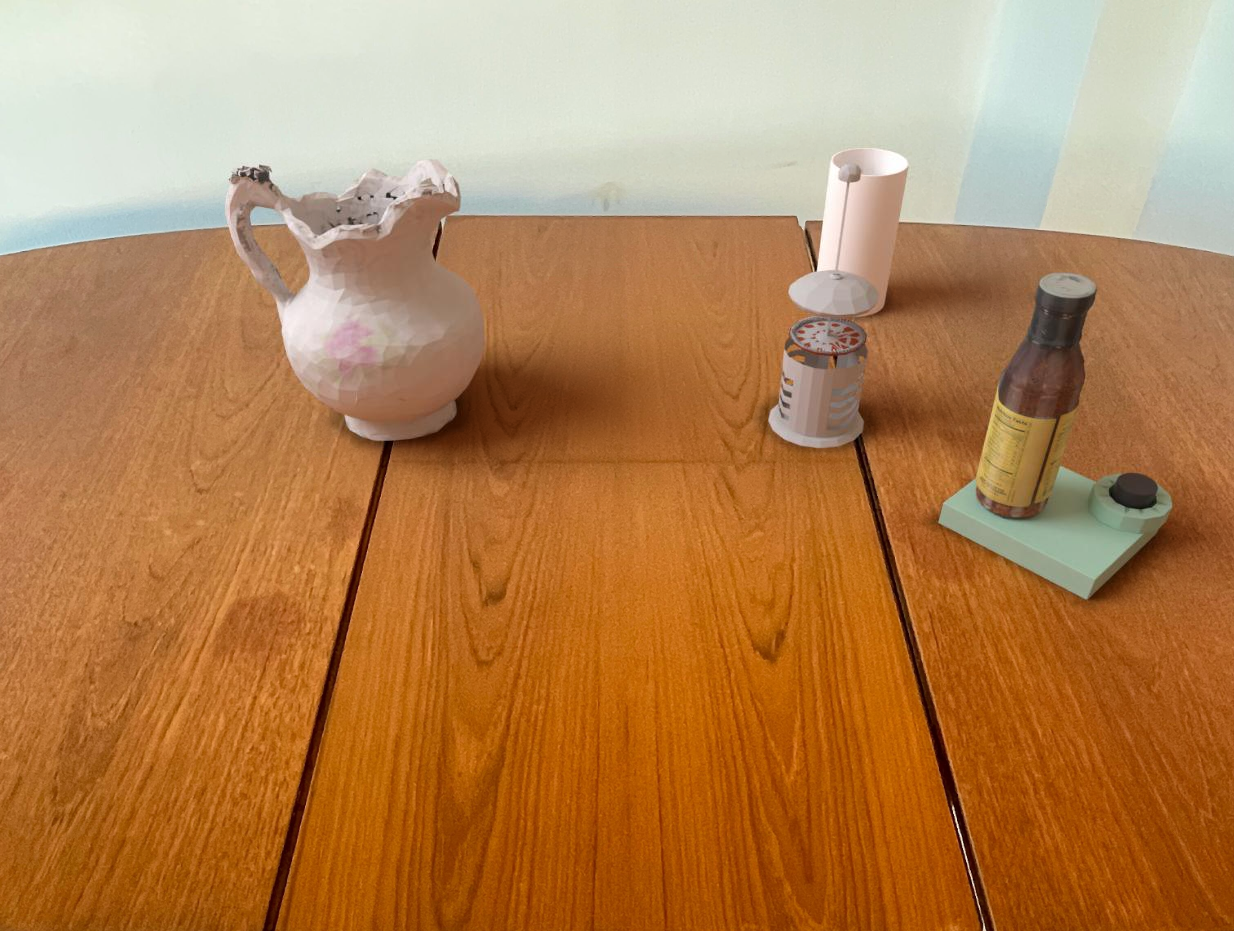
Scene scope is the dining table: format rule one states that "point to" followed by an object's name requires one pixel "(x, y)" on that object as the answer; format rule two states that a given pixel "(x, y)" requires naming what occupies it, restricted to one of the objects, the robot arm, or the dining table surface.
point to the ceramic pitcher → (370, 297)
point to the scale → (1063, 530)
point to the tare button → (1134, 491)
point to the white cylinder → (864, 216)
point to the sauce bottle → (1036, 401)
